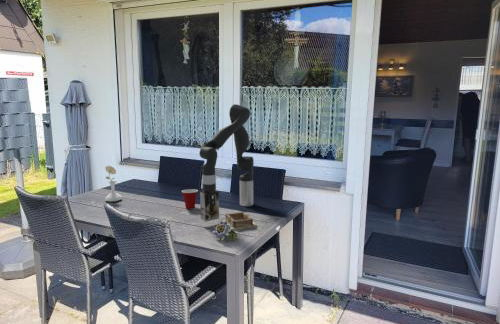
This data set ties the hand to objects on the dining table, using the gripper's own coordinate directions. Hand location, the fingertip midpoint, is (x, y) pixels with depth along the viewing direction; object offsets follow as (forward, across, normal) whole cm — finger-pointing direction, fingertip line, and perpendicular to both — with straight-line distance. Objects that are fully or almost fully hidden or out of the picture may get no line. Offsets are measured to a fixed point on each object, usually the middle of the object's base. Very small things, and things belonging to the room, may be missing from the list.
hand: (209, 210), depth 210 cm
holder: (+9, +4, +16) cm, 19 cm away
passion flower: (+9, +22, +2) cm, 24 cm away
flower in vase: (+10, -75, -50) cm, 91 cm away
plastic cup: (+10, -38, -3) cm, 39 cm away
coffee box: (+5, 0, 0) cm, 5 cm away
